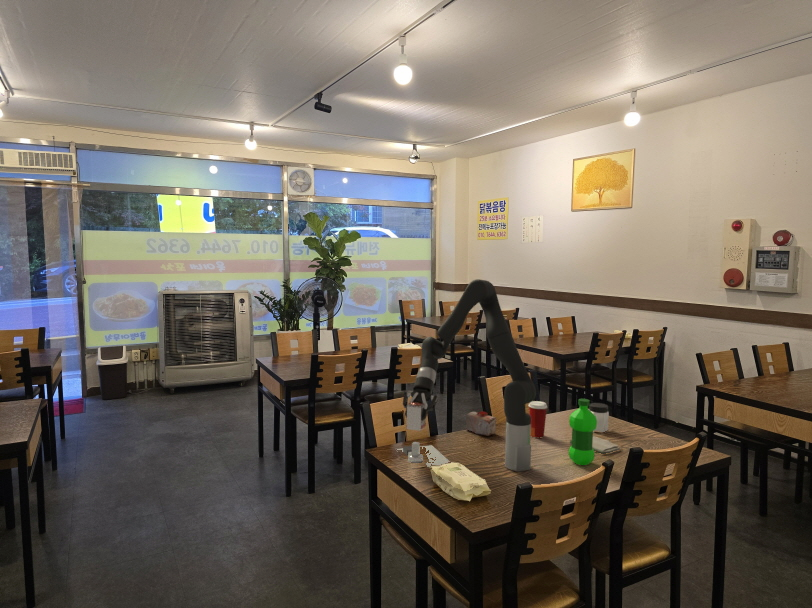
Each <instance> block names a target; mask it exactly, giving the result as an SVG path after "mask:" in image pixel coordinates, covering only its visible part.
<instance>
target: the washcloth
mask: <svg viewBox="0 0 812 608" xmlns="http://www.w3.org/2000/svg"><path fill="white" fill-rule="evenodd" d="M571 443H572V438H571V439H569V444H571ZM592 448H593V450H594V451H596V452H598V453H601V454H606V453H610V452H613V451H617V450H620V451H621V448H620V447H619V445H618V444H615V443H612V441H611V440H606V439H604V438H601V437H597V436H596V435H595V436H594V435H593V442H592ZM598 453H597V454H598Z"/></svg>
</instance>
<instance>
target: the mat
mask: <svg viewBox="0 0 812 608" xmlns="http://www.w3.org/2000/svg"><path fill="white" fill-rule="evenodd" d="M420 447H422V449H423V447H425V448H426V452H427V451H428V450H429V453H427V454H426V455H427V457H428V459H429V462H431V463H428V462H427V463H426V465H427V467H429V468H431V467H430V466H431V464H432V465H441V464H445V463H448V462H451V461H450V460H449V459H448V458H447V457H445V456H444V455H443V454H442V453H441V452H440V451H439V450H438V449H437V448H435V447H434V446H433V445H432V444H429V445H422V446H421V445H420ZM396 449H397V450H402V452H403V447H401V448H396ZM397 450H396V451H397ZM426 452H425V453H426ZM430 453H431V454H430ZM429 454H430V455H429ZM435 457H436V458H435ZM430 458H433V459H434V460H435V459H436V460H435V461H434V460H432V459H430ZM432 462H434V463H432Z"/></svg>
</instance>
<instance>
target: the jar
mask: <svg viewBox="0 0 812 608" xmlns="http://www.w3.org/2000/svg"><path fill="white" fill-rule="evenodd" d="M588 409H589V410H590V411H591V412H592V413H593V414H594V415H595V416H596V419H597V426H596V429H595V430H594V431H599V432H605V431H607V430H608V431H609V417H610V416H609V415H610V413H609V405H608V404H605V403H602V402H601V403H600V402H592V403H589V406H588ZM608 431H607V432H608ZM605 433H606V432H605Z"/></svg>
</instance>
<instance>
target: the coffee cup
mask: <svg viewBox="0 0 812 608" xmlns="http://www.w3.org/2000/svg"><path fill="white" fill-rule="evenodd" d="M547 409H548V405H547V403H546V402H544V401H540V400H539V401H538V400H536V401H535V400H533V401H532V402H530V403H528V411H529V412H528V414H529V415H530V416H531V436H532V437H531V436H530V437H531V438H533V437H539V438H538V439H541V438H540V437H543V436H544V437H545V427H546V418H547ZM544 437H543V438H544Z"/></svg>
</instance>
